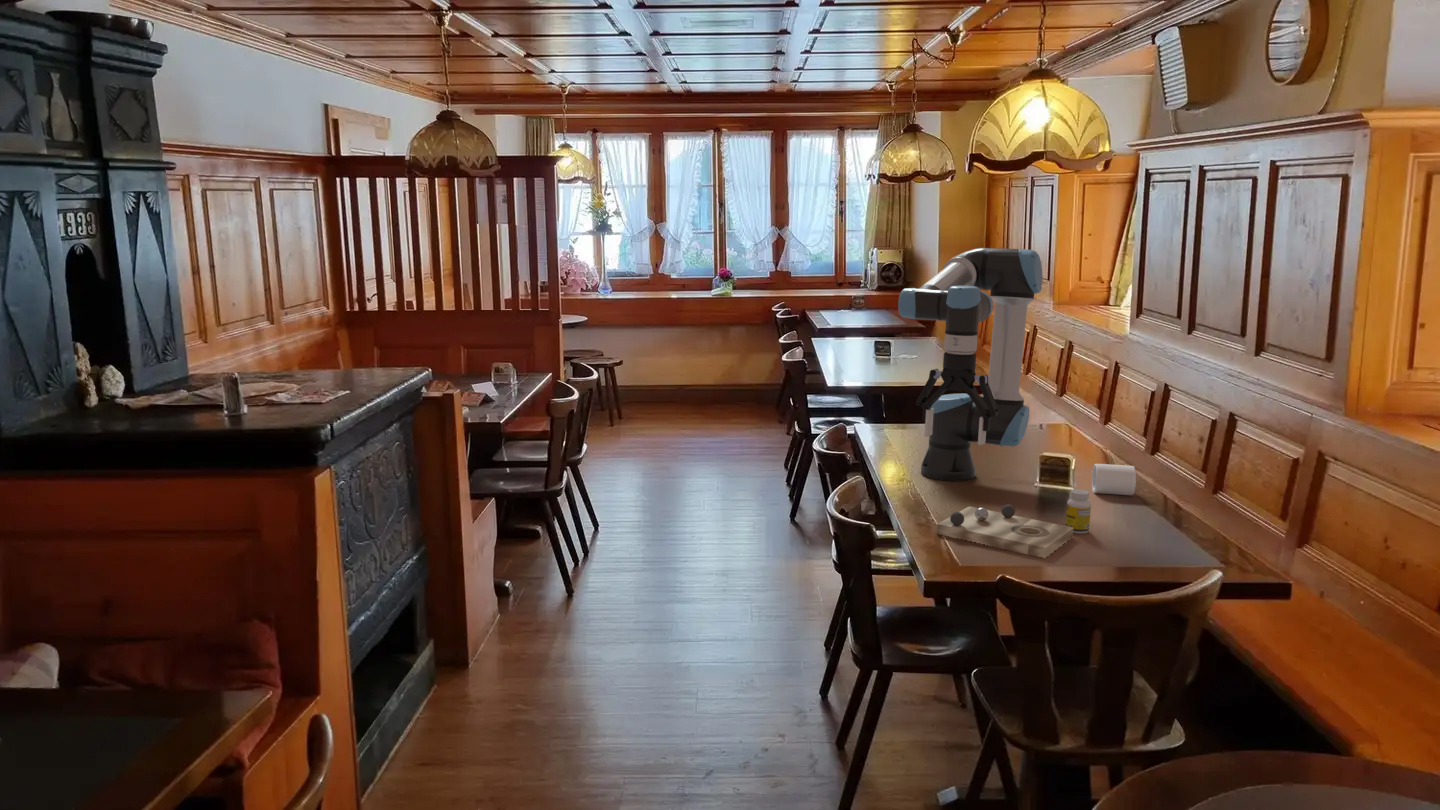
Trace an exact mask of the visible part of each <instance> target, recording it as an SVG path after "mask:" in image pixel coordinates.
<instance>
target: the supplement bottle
mask: <svg viewBox="0 0 1440 810" xmlns="http://www.w3.org/2000/svg"><path fill="white" fill-rule="evenodd" d="M1089 495H1090V492H1089V491H1087V490H1085V489H1080V488H1078V489H1076V488H1075V489H1071V491H1070V497H1071V498H1069V499H1068V500H1067V503H1066V512H1065V513H1066V514H1065V525H1064V526H1068V527H1073V534H1077V535H1078V534H1079V535H1083V534H1084V535H1085V534H1087V533H1089V531H1090V523H1091V511H1092V510H1091V509H1092V503H1091V501H1090V500H1089V497H1090V496H1089Z"/></svg>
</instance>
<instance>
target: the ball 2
mask: <svg viewBox="0 0 1440 810" xmlns="http://www.w3.org/2000/svg"><path fill="white" fill-rule="evenodd" d="M1015 509H1016V508H1015V507H1014V506H1013V505H1011V504H1005V505H1003V506H1002V507H1001V512H1000V513H1002V515H1003V516H1004V517H1006V518H1011V517H1012V516H1015V514H1016V510H1015Z"/></svg>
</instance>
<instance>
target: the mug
mask: <svg viewBox="0 0 1440 810" xmlns="http://www.w3.org/2000/svg"><path fill="white" fill-rule="evenodd" d="M1136 471H1137V470H1136V467H1135V466H1134V465H1127V464H1125V465H1124V464H1123V465H1122V464H1107V463H1094V465H1093V467H1092V472H1091V488H1092V489H1091V490H1092V492H1093V494H1104V495H1120V496H1133V495H1134V493H1135V491H1136V485H1137V473H1136Z"/></svg>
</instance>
